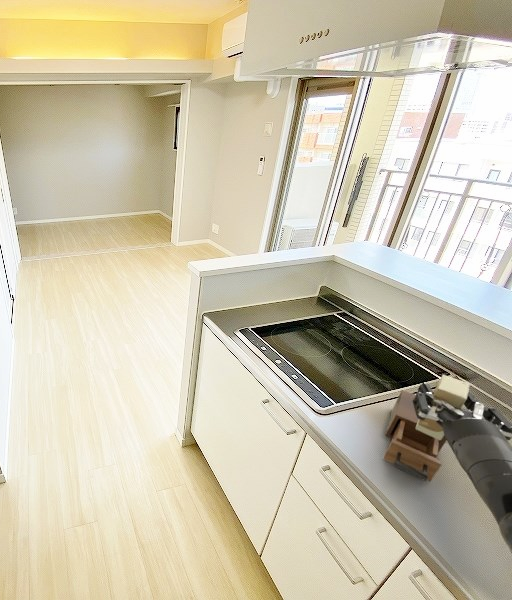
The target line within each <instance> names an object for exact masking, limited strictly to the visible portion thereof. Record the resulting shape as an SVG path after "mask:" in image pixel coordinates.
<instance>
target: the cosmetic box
mask: <svg viewBox="0 0 512 600" xmlns="http://www.w3.org/2000/svg"><path fill="white" fill-rule="evenodd" d="M470 387H471V383H468V382H466V381H462V380H460V379H457V378H455V377H452V376H449V375H446V374H442V375H441V377H440V379H439V381H438V383H437V385H436V387H435V388H434V390H433V392H434V395H435V396H436V397H438V398H439V399H440V400H442V399H443V400H445V401H446V402H448V403H449V404H450V405H452V406H453V407H457V408H460V409H462V407H463V406H464V403H465V401H466V399H467V396H468V392H470ZM431 403H432V404H434V401H432V402H431ZM443 408H444V407H442V409H443ZM442 409H441V410H442ZM416 430H419V431H421V432H423V433H425V434H427V435H429V436H432V437H434V438H436V439H438V440H441V439H442V438H443V436H444V432H443V428H442V427H441V426H440V425H439V424H438V423H437V422H436V421H435V420H431V419H428V418H425V420H420V419H419V420H418V422H417V425H416Z"/></svg>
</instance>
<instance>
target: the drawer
mask: <svg viewBox="0 0 512 600" xmlns="http://www.w3.org/2000/svg"><path fill="white" fill-rule="evenodd" d="M438 445H439V440H438V439H436V438H434V437H432V436H429V435H427V434H425V433H423V432H421V431H419V430H416V425H413V424H411V423H409V422H406V421H404V420H400V422H399V424H398V426H397V427H396V429H395V431H394V434H393V438H392V439H391V441H390V443H389V444H388V447H387V449H386V450H385V452H384V454H383V458H382V459H383V460H384V461H387V462H389V463H390V464H392V466H394V467H396V468H399V469H401V470H402V471H404V472H406V473H409V474H410V475H413V476H415V477H416V478H419V479H421V480H422V481H425V482H427V481H428V482H431V481H432V480H433V478H434V476H435V475H436V474H437V472H438V471H439V469H440V468H441V466H442V463H443V461H442V460H440V459H439V458H437V457H438V455H439V453H438Z"/></svg>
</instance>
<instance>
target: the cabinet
mask: <svg viewBox="0 0 512 600" xmlns="http://www.w3.org/2000/svg"><path fill="white" fill-rule="evenodd" d="M415 396H416V394H415V393H412V392H410V391H407V390H404V389H401V390H400V394H399V395H398V397H397V399H396V401H395V403H394V405H393V407H392V409H391V412H390V416H389V419H388V423H387V427H386V431H385V437H387V438H389V439H391V440H392V438H393V434H394V431H395V429H396V427H397V426H398V424H399V422H400V420H404V421H406V422H409V423H411V424H413V425H417V422H418V420H419V419H418V418H417V416H416V412H415V409H414V405H413V399H414V398H415ZM446 442H447V440H446V438H445V436H443V438H442V439H441V440H439V445H438V454H439V453H440V452H441V450H442V448H443V447H444V445H445V444H446Z"/></svg>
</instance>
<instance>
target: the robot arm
mask: <svg viewBox="0 0 512 600" xmlns="http://www.w3.org/2000/svg"><path fill="white" fill-rule="evenodd" d="M415 395H416V396H415V398H414V399H413V405H414V409H415V412H416V416H417V418H418V419H420V420H425V418H428V419H431V420H435V421H436V422H437V423H438V424H439V425H440V426H441V427H442V428H443V432H444V436H445V438H446V442H447V444H448V446H449V447H450V449H451V451H452V452H453V454H454V456H455V458H456V460H457V462H458V463H459V465H460V467H461V468H462V470H463V471H464V472H465V473H466V475H467V476H468V478H469V480H470V482H471V483H472V485H473V487H474V488H475V490H476V492H477V494H478V495H479V497H480V498H481V500H482V501H483V504H485V506H486V507H487V509H488V510H489V511H490V513H491V515H492V516H493V517H494V520H495V522H496V524H497V525H498V529H499V533H500V536H501V538H502V539H503V542H504V543H505V545H506V546H507V548H508V549H509V551H510V553H511V554H512V445H511V443H510V442H509V441H511V439H512V423H511V422H510V421H509V420H508V419H507V417H505V416H504V415H503V414H502V412H500V411H499V410H498V409H497V408H496V407H494V406H489V407H486V406H485V405H484V404H483V403H481V402H480V401H479V400H478V399H477V397H476V396H475V395H474V394H472V393H471V392H470V391H469V392H468V396H467V399H466V401H465V403H464V404H463V406H465V408H461V409H460V408H457V407H453V406H452V405H450V404H449V403H448V402H446V401H445V400H443V399H442V400H440V399H439V398H438V397H436V396H435V395H434V390H433V389H432V388H431V385H430V384H429V383H428V382H422V383H420V384H419V386H418V388H417V392H416V394H415ZM432 401H434V404H432V403H431V402H432ZM442 407H444V408H443V409H442ZM441 409H442V410H441Z"/></svg>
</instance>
